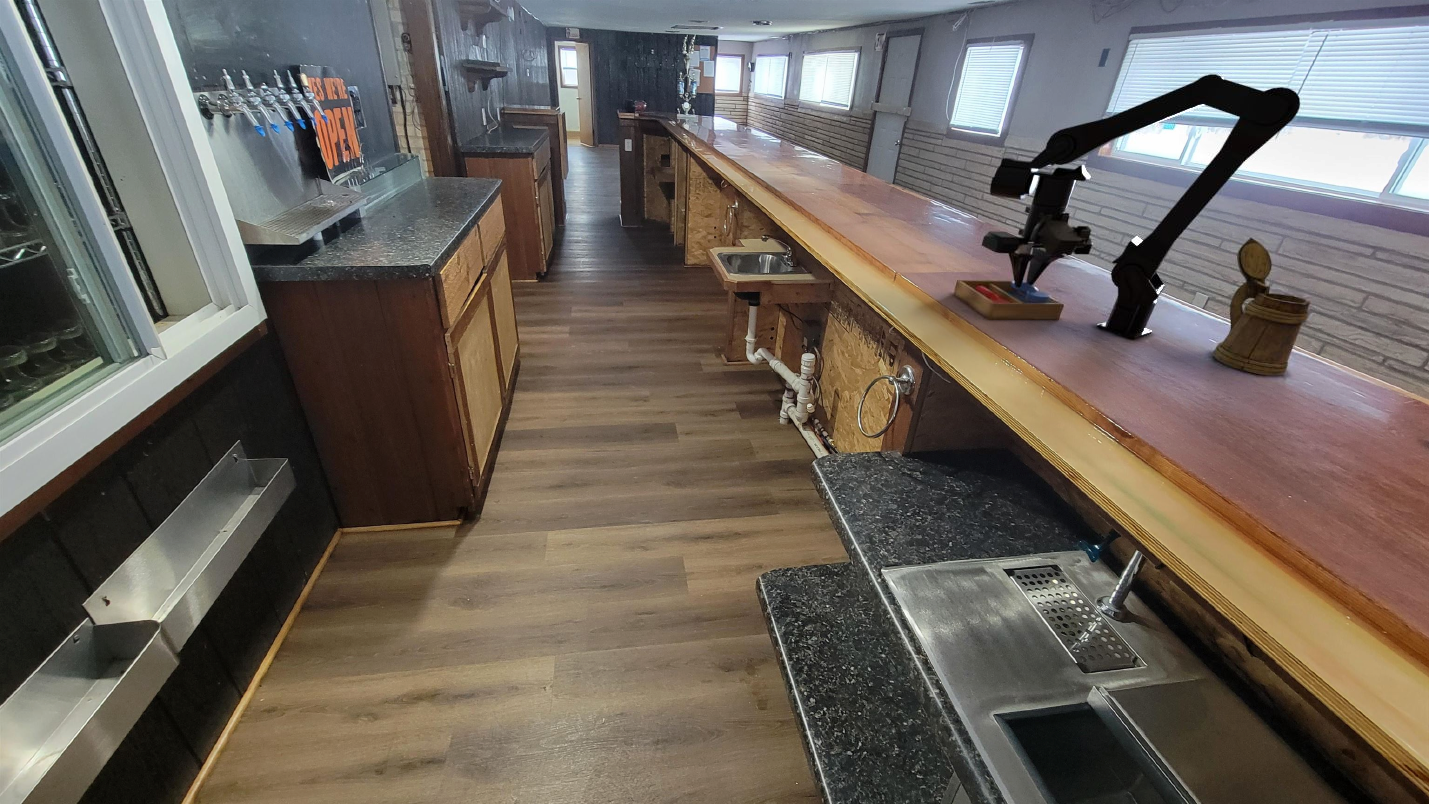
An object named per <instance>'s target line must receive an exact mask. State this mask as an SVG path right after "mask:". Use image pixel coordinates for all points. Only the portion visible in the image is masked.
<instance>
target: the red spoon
mask: <svg viewBox="0 0 1429 804" xmlns="http://www.w3.org/2000/svg"><path fill="white" fill-rule="evenodd" d="M975 290H976V291H977V292H979V293H980V294H982V295H983V296H985V297H986V298H988V299H989V300H991V301H992V302H994V303H1010V302H1009V301H1007V300H1004V299H999V297H998V296H997V295H996V294H994V293H993V292H991V291H989V290H988V289H986V288H985V287H983V286H978V287H977V288H976V289H975Z"/></svg>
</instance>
